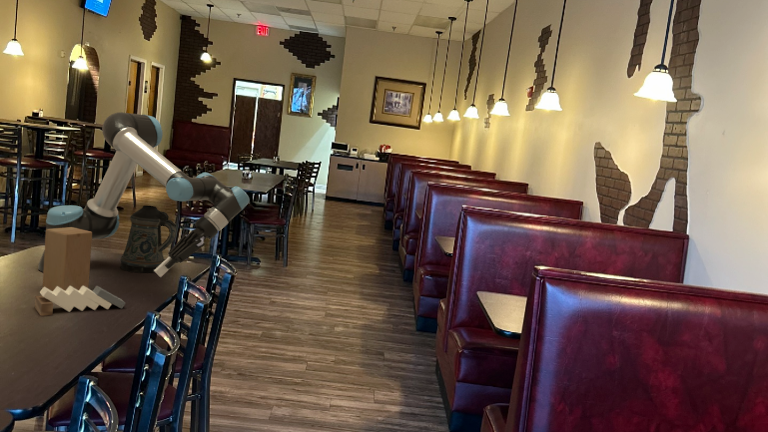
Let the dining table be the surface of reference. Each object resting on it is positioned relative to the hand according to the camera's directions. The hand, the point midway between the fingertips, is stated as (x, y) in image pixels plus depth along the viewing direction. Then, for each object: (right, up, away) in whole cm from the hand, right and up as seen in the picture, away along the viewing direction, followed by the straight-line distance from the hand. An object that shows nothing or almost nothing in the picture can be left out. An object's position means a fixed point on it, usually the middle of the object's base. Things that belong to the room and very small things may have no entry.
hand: (157, 273), depth 209 cm
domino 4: (-13, -9, -8) cm, 17 cm away
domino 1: (-21, -9, -15) cm, 27 cm away
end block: (-27, -9, -19) cm, 34 cm away
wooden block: (-32, -6, +6) cm, 33 cm away
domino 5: (-9, -9, -6) cm, 14 cm away
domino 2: (-18, -9, -13) cm, 24 cm away
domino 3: (-16, -9, -10) cm, 21 cm away
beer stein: (-21, -2, +48) cm, 52 cm away
